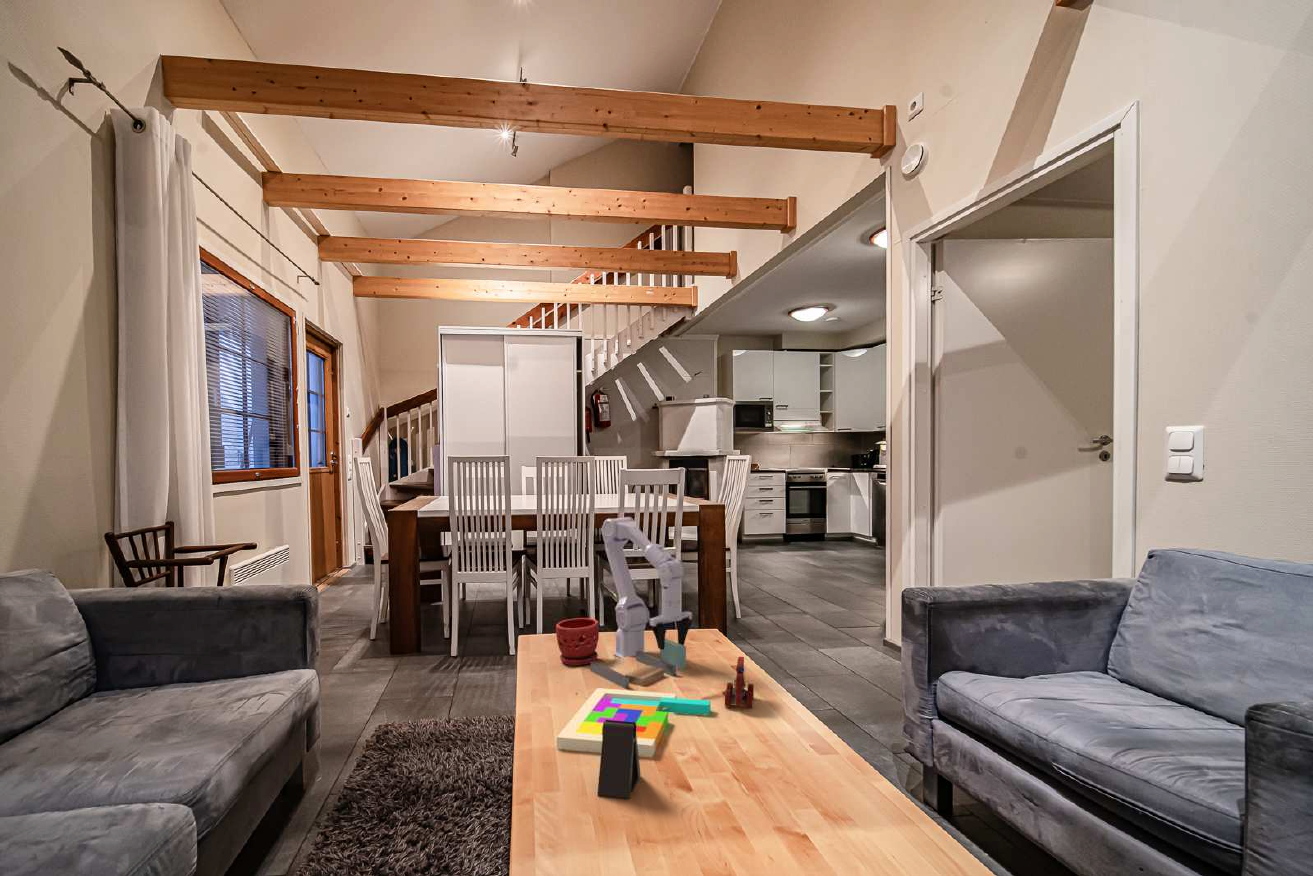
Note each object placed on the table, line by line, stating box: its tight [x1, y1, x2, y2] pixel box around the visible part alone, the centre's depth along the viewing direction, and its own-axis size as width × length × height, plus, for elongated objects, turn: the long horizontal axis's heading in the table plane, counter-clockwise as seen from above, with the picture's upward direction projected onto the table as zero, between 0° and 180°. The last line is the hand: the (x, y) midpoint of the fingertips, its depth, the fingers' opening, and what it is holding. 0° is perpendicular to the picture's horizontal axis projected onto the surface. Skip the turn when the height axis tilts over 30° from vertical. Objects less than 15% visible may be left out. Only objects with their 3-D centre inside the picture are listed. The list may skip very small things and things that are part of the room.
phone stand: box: [597, 720, 642, 800], centre depth 121 cm, size 9×6×12 cm, turn 167°
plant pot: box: [555, 617, 600, 667], centre depth 196 cm, size 13×13×12 cm
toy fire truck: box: [724, 656, 755, 709], centre depth 162 cm, size 7×12×10 cm, turn 169°
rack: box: [590, 651, 677, 690], centre depth 181 cm, size 18×17×4 cm
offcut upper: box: [624, 665, 665, 687], centre depth 176 cm, size 6×10×2 cm, turn 144°
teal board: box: [659, 638, 687, 670], centre depth 189 cm, size 2×10×7 cm, turn 36°
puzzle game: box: [556, 687, 711, 758], centre depth 148 cm, size 30×3×30 cm
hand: (671, 646), depth 189 cm, fingers open, 7 cm apart
